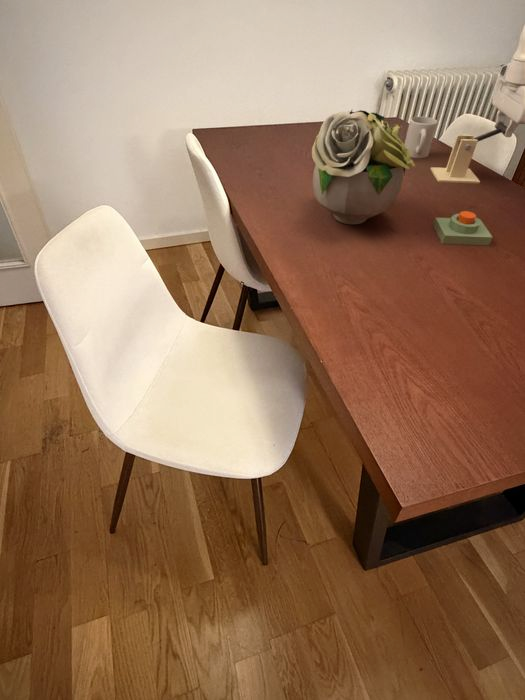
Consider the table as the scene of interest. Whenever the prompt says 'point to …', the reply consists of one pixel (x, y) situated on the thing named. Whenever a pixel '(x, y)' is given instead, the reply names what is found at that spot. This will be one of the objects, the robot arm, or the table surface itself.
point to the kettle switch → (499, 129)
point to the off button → (466, 217)
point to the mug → (420, 136)
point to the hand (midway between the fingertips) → (502, 132)
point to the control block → (461, 231)
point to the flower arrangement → (358, 165)
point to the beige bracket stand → (458, 162)
